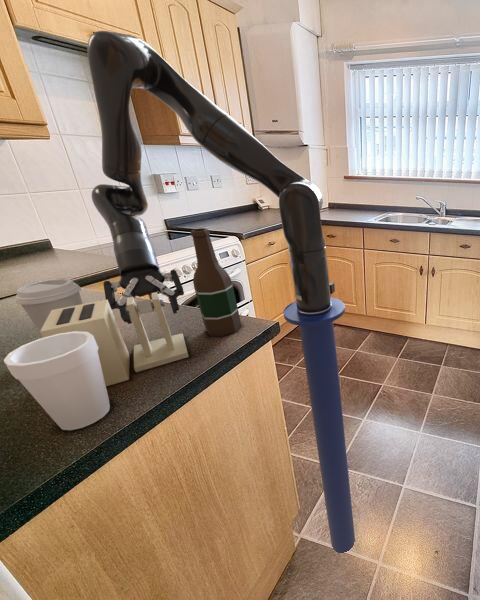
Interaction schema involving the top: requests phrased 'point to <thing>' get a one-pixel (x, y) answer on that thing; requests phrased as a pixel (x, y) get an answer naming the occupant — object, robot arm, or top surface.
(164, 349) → the lever bracket
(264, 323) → the top surface
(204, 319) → the beer bottle
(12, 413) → the top surface
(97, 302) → the toaster
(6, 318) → the top surface
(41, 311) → the coffee cup
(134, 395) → the top surface
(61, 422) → the foam cup
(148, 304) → the lever
